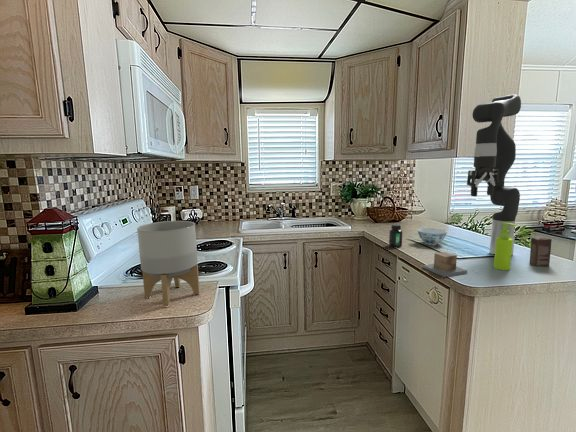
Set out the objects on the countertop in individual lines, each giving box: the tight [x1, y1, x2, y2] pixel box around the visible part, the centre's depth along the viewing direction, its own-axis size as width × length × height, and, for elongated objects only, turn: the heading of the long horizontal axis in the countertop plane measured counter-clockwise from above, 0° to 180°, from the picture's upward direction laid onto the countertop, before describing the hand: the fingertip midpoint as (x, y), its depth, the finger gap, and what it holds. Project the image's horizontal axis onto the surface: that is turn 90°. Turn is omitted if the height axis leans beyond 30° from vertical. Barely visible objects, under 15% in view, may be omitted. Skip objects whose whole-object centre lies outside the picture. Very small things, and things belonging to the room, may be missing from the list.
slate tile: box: [422, 263, 468, 278], centre depth 135 cm, size 12×12×1 cm
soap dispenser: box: [493, 223, 518, 271], centre depth 135 cm, size 6×7×20 cm
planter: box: [136, 220, 201, 307], centre depth 112 cm, size 19×19×26 cm
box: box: [529, 237, 552, 267], centre depth 139 cm, size 6×4×12 cm
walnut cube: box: [433, 251, 458, 271], centre depth 134 cm, size 6×6×6 cm
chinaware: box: [417, 227, 448, 246], centre depth 179 cm, size 15×15×8 cm
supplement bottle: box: [388, 223, 403, 249], centre depth 174 cm, size 7×7×12 cm
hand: (481, 195), depth 129 cm, fingers open, 8 cm apart
